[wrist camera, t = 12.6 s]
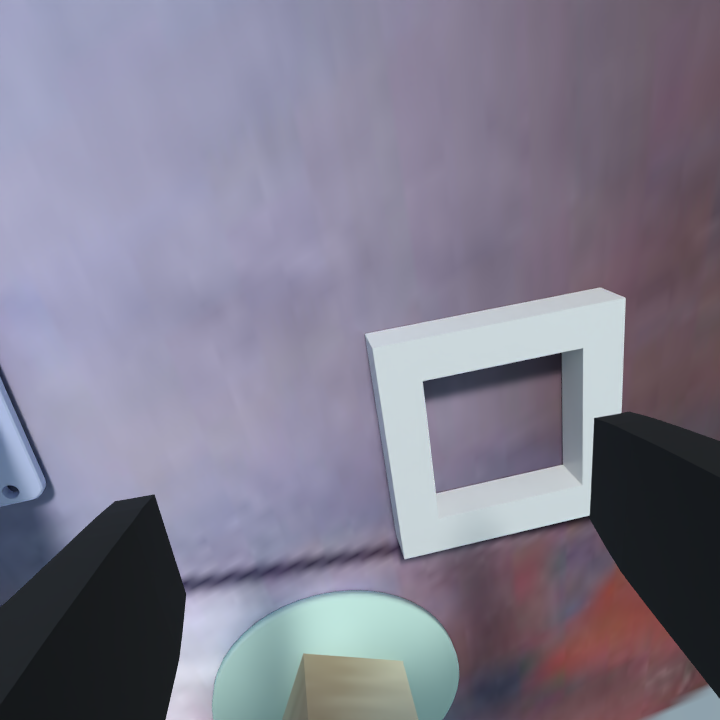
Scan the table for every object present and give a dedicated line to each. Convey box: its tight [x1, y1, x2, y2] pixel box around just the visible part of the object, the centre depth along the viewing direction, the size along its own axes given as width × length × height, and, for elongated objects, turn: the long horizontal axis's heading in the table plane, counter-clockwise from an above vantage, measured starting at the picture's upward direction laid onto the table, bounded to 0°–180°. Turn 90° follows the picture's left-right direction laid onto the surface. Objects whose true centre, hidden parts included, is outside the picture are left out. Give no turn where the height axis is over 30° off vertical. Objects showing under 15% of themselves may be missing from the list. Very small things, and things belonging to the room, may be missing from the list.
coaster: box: [212, 590, 459, 720], centre depth 25 cm, size 11×11×1 cm
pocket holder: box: [365, 287, 626, 559], centre depth 20 cm, size 9×9×2 cm
